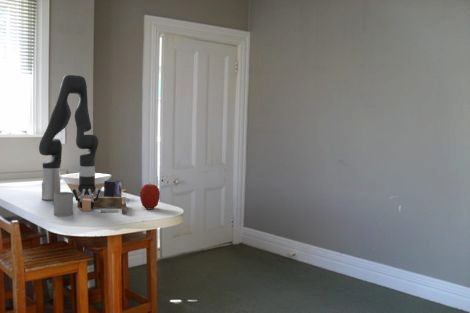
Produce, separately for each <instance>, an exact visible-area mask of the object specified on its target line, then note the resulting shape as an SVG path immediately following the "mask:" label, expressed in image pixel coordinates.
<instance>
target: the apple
mask: <svg viewBox="0 0 470 313" xmlns="http://www.w3.org/2000/svg"><path fill="white" fill-rule="evenodd" d="M160 192H161V190H160V188H159V187H158V185H156V184H151V183H148V184H144V185H143V186H142V187H141V188H140V192H139V198H140V199H139V200H140V203H141V205H142V206H143V208H144V209H145V210H152V209H153V210H154V209H155V208H156V207H157V206H158V205H159V201H160V196H161V193H160Z"/></svg>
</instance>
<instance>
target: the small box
mask: <svg viewBox="0 0 470 313" xmlns="http://www.w3.org/2000/svg"><path fill="white" fill-rule="evenodd" d="M122 181H123V180H122V179H116V178H115V179H114V178H111V179H110V178H109V179H108V180H106V181H104V185H103V197H122V192H123V191H122V190H123V189H122V187H123V186H122V183H123V182H122Z"/></svg>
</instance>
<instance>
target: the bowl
mask: <svg viewBox="0 0 470 313" xmlns="http://www.w3.org/2000/svg"><path fill="white" fill-rule="evenodd" d="M110 178H112V174H110V173H109V174H108V173H100V172H95V187H96V188H98V189H101V190H102V189H103V188H104V181H106V180H110ZM61 179H62V181H64V183H66V185H67V186H68V188H69V190H70V191H71V193H73V189H76V188H78V187H79V172H74V173H68V174H66V173H65V174H60V180H61ZM73 194H74V193H73ZM92 194H93V195H94V194H97V193H96V190H95V191H94V192H93V193H92ZM77 195H81V192H80V191H79V190H78V192H77Z"/></svg>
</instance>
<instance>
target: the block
mask: <svg viewBox="0 0 470 313" xmlns="http://www.w3.org/2000/svg"><path fill="white" fill-rule="evenodd" d="M91 211H92V209H91V199H83V200H82V209H81V212H91Z"/></svg>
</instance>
